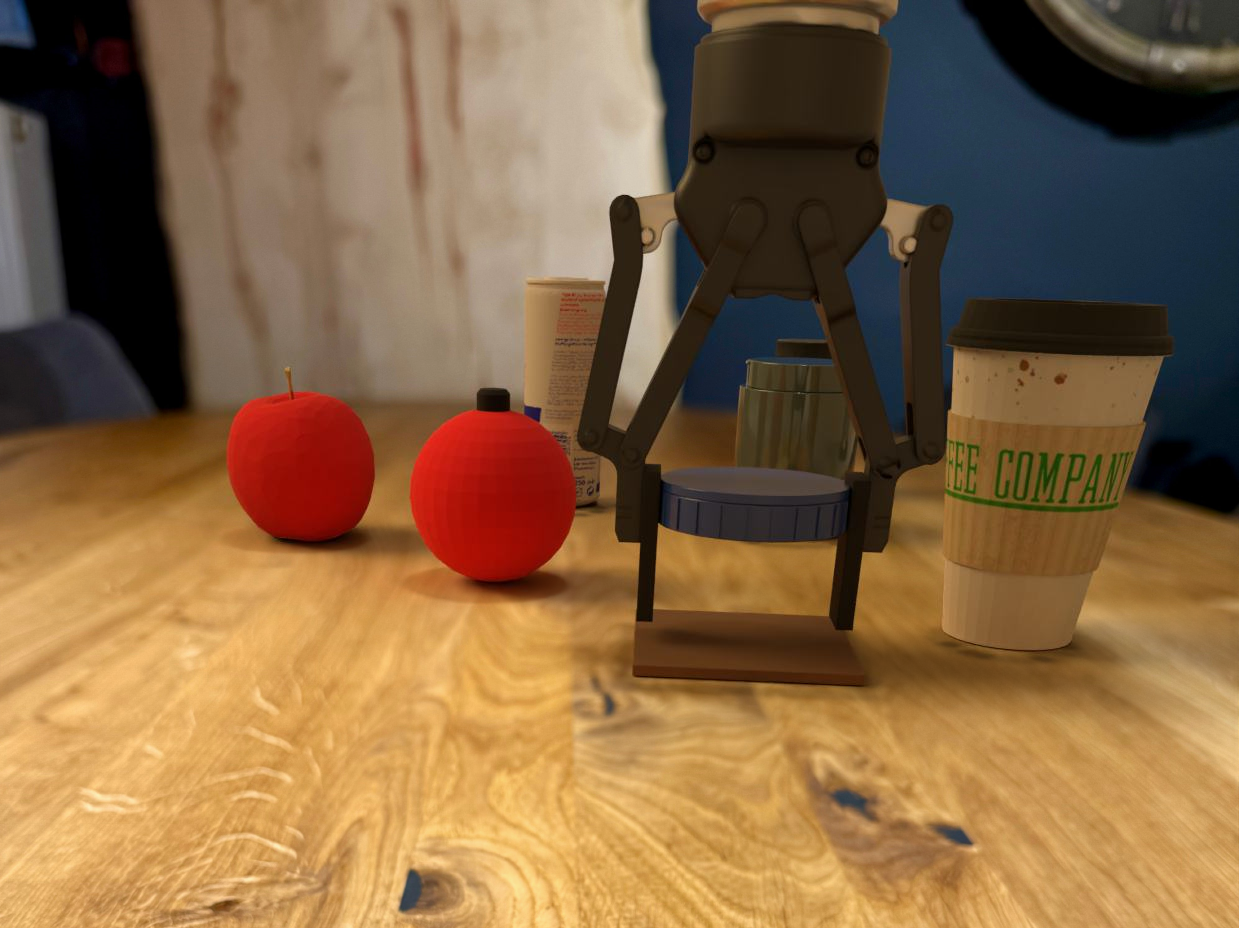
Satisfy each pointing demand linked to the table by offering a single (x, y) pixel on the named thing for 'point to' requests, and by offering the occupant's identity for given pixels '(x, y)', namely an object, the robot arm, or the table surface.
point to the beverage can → (563, 365)
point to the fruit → (301, 465)
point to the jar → (794, 418)
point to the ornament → (493, 492)
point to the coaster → (744, 648)
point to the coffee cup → (1039, 458)
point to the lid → (753, 504)
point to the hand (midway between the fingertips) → (742, 618)
